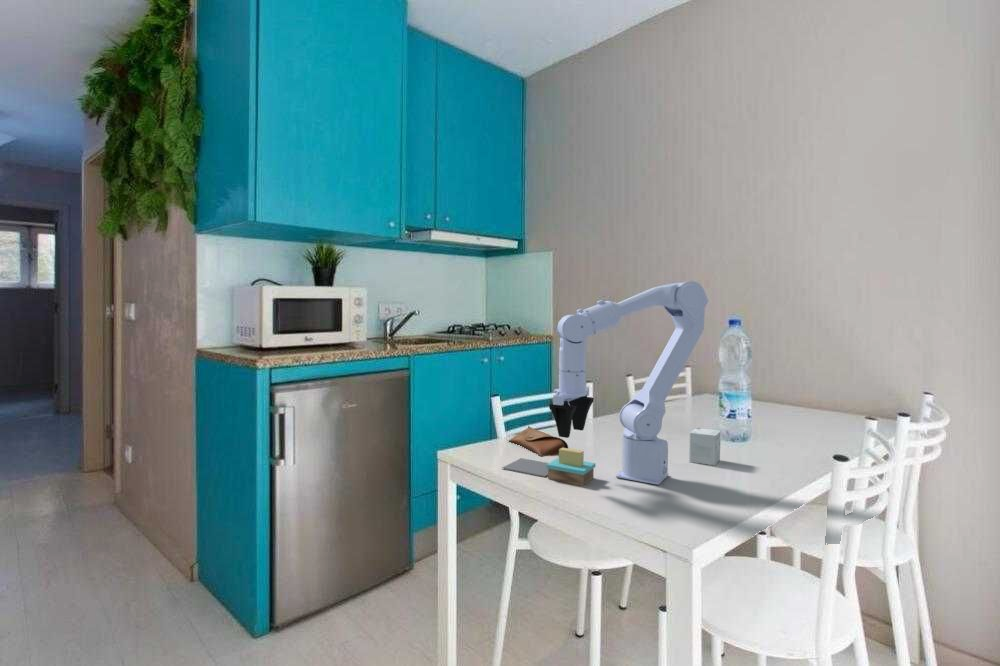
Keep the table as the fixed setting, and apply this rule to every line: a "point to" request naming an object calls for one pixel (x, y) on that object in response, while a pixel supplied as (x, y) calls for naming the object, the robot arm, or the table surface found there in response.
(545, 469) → the mat
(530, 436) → the sunglasses case
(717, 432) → the skincare box
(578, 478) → the box
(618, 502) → the table surface
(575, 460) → the lid
